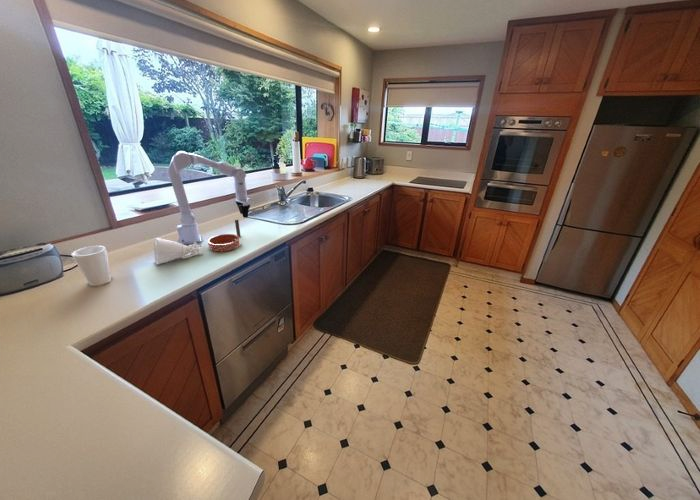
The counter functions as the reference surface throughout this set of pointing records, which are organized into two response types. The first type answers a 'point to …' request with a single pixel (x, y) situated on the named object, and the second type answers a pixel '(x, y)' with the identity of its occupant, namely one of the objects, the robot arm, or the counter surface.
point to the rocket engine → (173, 250)
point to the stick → (237, 227)
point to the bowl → (223, 242)
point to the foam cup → (93, 264)
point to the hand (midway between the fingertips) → (244, 215)
